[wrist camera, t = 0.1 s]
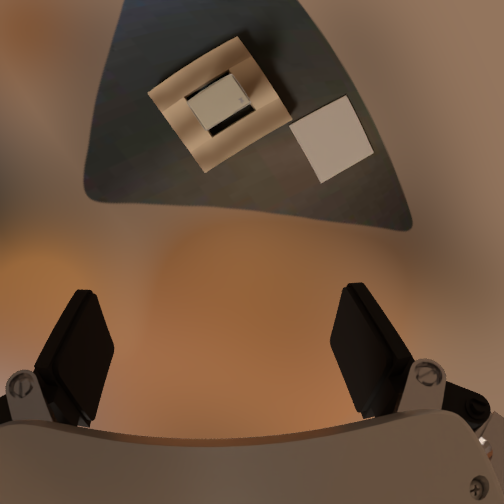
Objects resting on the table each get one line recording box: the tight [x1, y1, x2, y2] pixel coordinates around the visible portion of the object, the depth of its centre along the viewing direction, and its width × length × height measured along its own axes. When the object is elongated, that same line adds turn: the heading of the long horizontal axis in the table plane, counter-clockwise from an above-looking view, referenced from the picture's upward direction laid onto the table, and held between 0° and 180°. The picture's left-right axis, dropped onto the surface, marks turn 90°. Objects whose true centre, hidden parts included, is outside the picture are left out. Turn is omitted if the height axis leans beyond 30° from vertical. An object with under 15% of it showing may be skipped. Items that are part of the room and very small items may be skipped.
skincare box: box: [187, 74, 251, 131], centre depth 34 cm, size 6×4×12 cm
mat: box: [289, 96, 374, 183], centre depth 43 cm, size 11×11×1 cm
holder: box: [148, 36, 293, 173], centre depth 38 cm, size 15×15×3 cm
